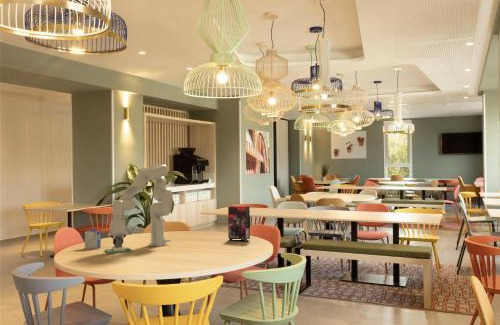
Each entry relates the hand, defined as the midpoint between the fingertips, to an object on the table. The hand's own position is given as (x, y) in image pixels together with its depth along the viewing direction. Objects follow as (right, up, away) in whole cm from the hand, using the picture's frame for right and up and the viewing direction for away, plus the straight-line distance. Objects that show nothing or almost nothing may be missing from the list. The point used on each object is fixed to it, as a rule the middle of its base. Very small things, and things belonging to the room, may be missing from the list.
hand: (118, 244), depth 310 cm
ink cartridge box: (-22, -6, +14) cm, 27 cm away
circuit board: (0, -5, 0) cm, 5 cm away
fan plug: (+1, -2, -1) cm, 3 cm away
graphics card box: (+82, -6, +46) cm, 94 cm away
